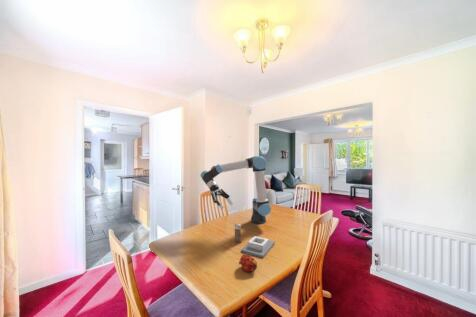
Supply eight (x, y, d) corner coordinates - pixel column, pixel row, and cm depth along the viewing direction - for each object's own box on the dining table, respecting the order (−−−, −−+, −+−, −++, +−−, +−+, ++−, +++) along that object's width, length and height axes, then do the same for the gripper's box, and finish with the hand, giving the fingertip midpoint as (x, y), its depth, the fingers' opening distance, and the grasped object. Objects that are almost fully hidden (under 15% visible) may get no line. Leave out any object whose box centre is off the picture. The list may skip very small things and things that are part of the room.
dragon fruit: (240, 266, 110) (256, 278, 102) (233, 263, 105) (248, 276, 96) (247, 252, 113) (263, 263, 105) (240, 249, 107) (256, 260, 99)
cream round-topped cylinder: (236, 240, 141) (236, 223, 141) (241, 241, 139) (241, 224, 139) (233, 242, 137) (233, 225, 137) (238, 244, 135) (238, 226, 135)
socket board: (254, 239, 143) (254, 232, 143) (274, 243, 135) (274, 237, 135) (241, 251, 124) (241, 244, 124) (263, 258, 116) (263, 250, 116)
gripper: (219, 187, 169) (232, 205, 162) (200, 191, 148) (215, 213, 140) (223, 181, 167) (238, 200, 159) (205, 185, 145) (221, 207, 138)
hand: (227, 206), depth 150 cm, fingers open, 13 cm apart
